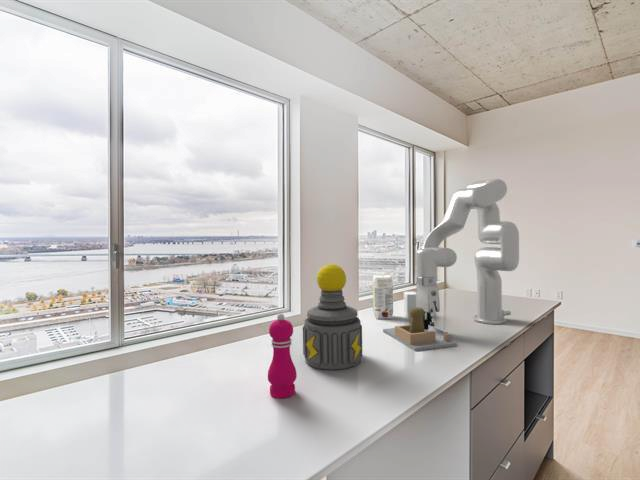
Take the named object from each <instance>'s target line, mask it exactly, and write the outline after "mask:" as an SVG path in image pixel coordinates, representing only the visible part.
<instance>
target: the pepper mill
mask: <svg viewBox="0 0 640 480" xmlns="http://www.w3.org/2000/svg"><path fill="white" fill-rule="evenodd" d="M293 333H294V326H293V324H292V323H291V321H290V320H287V319H285V314H284V313H278V314H277V317H276V320H274V321H273V322H271V324H270V325H269V328H268V334H269V336H270V337H271V340H270V342H271V345H270V346H272V349H273V350H272V351H273V352H272V358H271V359H272V360H271V362H270V365H269V368H268V372H267V381H268V383H269V384H270V386H269V394H270V396H271V397H273V398H276V399H287V398H289V397H292V396H294V394H295V393H296V384H295V381H296V380H297V369H296V367H295V365H294V362H293V359H292V356H291V350H290V349H291V345H292V338H291V337H292V335H293Z"/></svg>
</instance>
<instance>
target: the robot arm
mask: <svg viewBox="0 0 640 480" xmlns="http://www.w3.org/2000/svg"><path fill="white" fill-rule="evenodd" d="M507 193H508V186H507V183H506V182H505V180H503V179H501V178H493V179H487V180H479V181H478V180H477V181H473V182H470V183H468V184H466V186H465V187H464V188H459V189H457V190H455V191H454V192H453V193H452V195H451V198H450V201H449V202H448V205H447V208H446V210H445V213H444V216H443V218H442V221H441V222H440V223H439V224H437V225H436V227H434V228H433V229H432V230H431V232H430V233H429V234H428V235H427V237H426V238H425V240H424V243H423V246H422V247H421V248H419V249H417V250H416V251H415V268H416V269H415V271H416V272H415V273H416V274H415V275H416V276H415V277H416V278H415V281H416V287H415V289H416V290H415V292H416V307H418V308H422V309H423V310H424V316H423V323H424V330H428V325H430V322H433V317H437V313H439V312H440V311H441V302H440V301H441V300H440V293H439V288H438V279H437V278H438V275H437V274H438V269H437V268H438V267H440V268H449V267H452V266H453V265H455V264H456V263H457V258H458V257H457V253H456V251H454V249H452V248H450V247H441V244H442V243H443V241H445V240H447V238H449V237H451V236H453V235H456V234H458V233H459V232H461V231H462V230H463V229H464V227H465V226H466V223H467V220H468V217H469V215H470V211H471V210H476V212H477V235H478V240H479V242H480V243H482V244H486V245H500V247H496V246H495V247H494V246H493V247H492V246H491V247H489V246H485V247H480V248H478V249H477V250H476V252H475V253H474V256H473V257H474V265H475V268H476V279H477V281H476V282H477V283H476V289H477V290H476V293H477V295H476V296H477V298H476V299H477V302H476V303H477V305H476V306H477V307H476V308H477V309H476V310H477V313H476V314H477V315H474V316H473V320H474V321H475V322H478V323H481V324H489V325H502V324H505V323H507V319H506V318H505V316H511V314H512V312H511V311H510V310H503V307H502V306H503V304H502V302H503V299H502V298H503V296H502V293H503V291H502V290H503V289H502V288H503V287H502V285H503V283H502V282H503V281H502V280H503V279H502V277H501V275H500V271H501V272H513V271H515V270H516V269H517V268H518V265H519V263H520V232H519V229H518V227H517V225H516V224H515V223H514V222H512V221H504V220H503V221H501V216H500V208H499V206H498V204H497V202H500V201H502V199H503V198H504V197H506V195H507Z"/></svg>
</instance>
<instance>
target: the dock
mask: <svg viewBox="0 0 640 480" xmlns="http://www.w3.org/2000/svg"><path fill="white" fill-rule="evenodd" d="M382 329H383V330H382V332H383V333H384V334H386V335H388V336H390V337H391V338H393V339H394V340H396V341H398V342H399V343H401V345H402V344H403V345H404V346H405V347H408V348H409V349H411V350H413V351H414V352H418V351H424V350H425V351H426V349H427V350H434V348H435V349H442V348H443V347H444V348H450V347H457V342H455V341H453V340H452V339H451V338H452V337H451V335H452V334H451V333H449V332H447V334H444V340H443V339H440V338H438V337H436V336H435V332H434V331H429V332H428V330H425V332H420V333H410V332H409V330H410V324H405V325H404V324H403V325H395V326H394V327H391V328H382ZM444 348H443V349H444Z"/></svg>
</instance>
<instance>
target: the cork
mask: <svg viewBox="0 0 640 480" xmlns="http://www.w3.org/2000/svg"><path fill="white" fill-rule="evenodd" d="M409 314H410V316H411V317H410V324H409V325H410V330H409V332H410V333H420V332H425V330H424V323H423V316H424V310H423V309H422V308H418V307H414V308H411V309H410V311H409Z"/></svg>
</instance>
